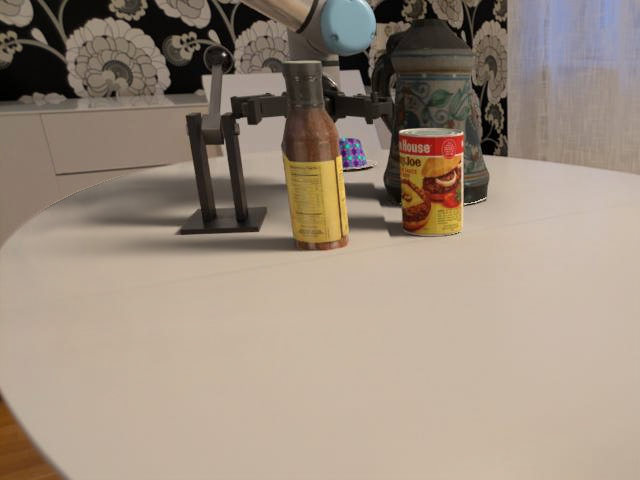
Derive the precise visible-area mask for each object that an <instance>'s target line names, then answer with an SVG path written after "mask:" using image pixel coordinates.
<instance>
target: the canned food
mask: <svg viewBox="0 0 640 480" xmlns="http://www.w3.org/2000/svg"><path fill="white" fill-rule="evenodd" d="M399 150H400V175H401V200H402V205H401V222H402V231H403V232H404V233H406V234H409V235H412V236H419V237H446V236H452V235H451V234H453V235H456V234H455V233H457V234H459V233H461V232H463V231H464V206H463V131H461V130H456V129H444V128H417V129H406V130H401V131H399ZM460 231H461V232H460ZM458 232H459V233H458ZM445 235H446V236H445Z"/></svg>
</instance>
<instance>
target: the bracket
mask: <svg viewBox="0 0 640 480" xmlns="http://www.w3.org/2000/svg"><path fill="white" fill-rule="evenodd" d="M221 115H222V123H223V130H224V137H225V139H224V145H225V150H226V158H227V164H228V171H229V178H230V184H231V192H232V199H233V205H234V207H216V201H215V196H214V195H215V194H214V188H213V182H212V176H211V170H210V168H211V167H210V163H209V155H208V150H207V145H205V142H204V138H203V135H202V131H201V123H202V112H200V111H199V112H198V111H196V112H191V113H189V114H188V113H187V114H186V115H185V121H186V123H185V133H186V135H187V137H188V139H189V140H188V141H189V145H190V150H191V151H190V152H191V157H192V165H193V170H194V176H195V183H196V189H197V194H198V202H199V206H200V208H197V209H196V210H195V212H193V214H192V215H191V216H190V217H189V218H188V220H187V221H186V222H185V223H184V224H183V226H182V227H181V228H180V230H179V233H180V236H190V235H193V236H194V235H219V234H243V233H244V234H245V233H246V234H247V233H259V232H260V230H261V229H262V225H263V223H264V221H265V218H266V216H267V214H268V207H267V206H248V198H247V192H246V184H245V176H244V169H243V161H242V155H241V154H242V153H241V146H240V139H239V136H241V129H240V124H239V123H238V122H237V119H236V116H235V112H232V111H228V112H224V113H223V114H221Z"/></svg>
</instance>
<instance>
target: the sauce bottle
mask: <svg viewBox="0 0 640 480" xmlns="http://www.w3.org/2000/svg"><path fill="white" fill-rule="evenodd" d="M280 63H281V64H280V65H281V74H282V77H283V79H284V83H285V91H287V99H288V100H287V105H288V110H287V116H286V118H285V122H284V130H283V135H282V141H281V144H280V149H281V155H282V162H283V163H282V164H283V171H284V178H285V185H286V193H287V200H288V201H287V202H288V208H289V215H290V221H291V222H290V223H291V230H292V237H293V238H294V244H295V246H296V247H297V249H301V250H305V251H315V252H319V251H321V252H322V251H323V252H324V251H326V252H327V251H330V250H331V251H332V250H338V249H342V248H345V247H346V246H348V245H349V235H348V234H349V233H350V229H349V219H348V217H349V216H348V209H347V200H346V199H347V198H346V189H345V178H344V171H343V166H342V156H341V153H340V148H339V147H340V145H339V138H340V137H339V136H340V135H339V131H338V128H337V126H336V123H335V124H334V122H333V120H332V118H331V117H330V116H329V114H328V113H327V112H326V110H325V101H324V97H323V88H322V75H323V70H322V63H321V61H290V60H285V61H282V62H280Z"/></svg>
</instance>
